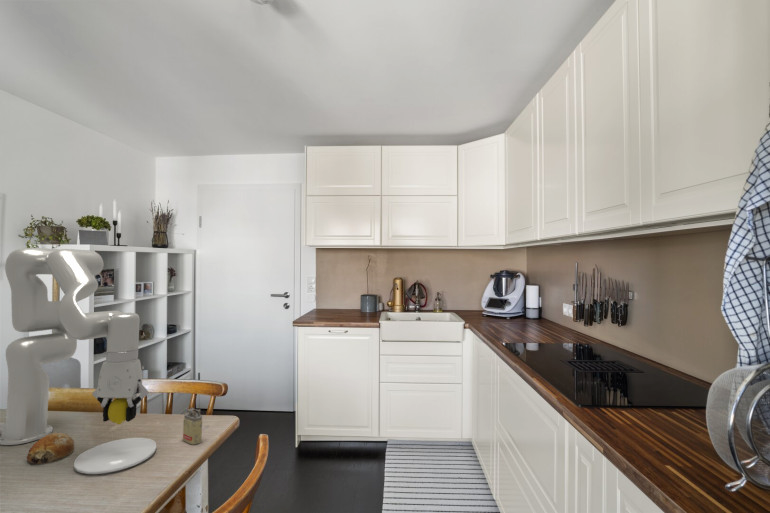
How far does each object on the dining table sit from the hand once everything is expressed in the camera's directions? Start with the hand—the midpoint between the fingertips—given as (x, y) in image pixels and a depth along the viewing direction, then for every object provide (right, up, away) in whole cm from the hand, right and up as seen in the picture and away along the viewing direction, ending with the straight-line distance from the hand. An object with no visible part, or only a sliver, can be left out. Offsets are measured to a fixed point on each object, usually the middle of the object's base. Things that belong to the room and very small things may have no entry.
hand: (119, 419), depth 106 cm
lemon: (0, -2, 0) cm, 2 cm away
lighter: (+15, -12, +11) cm, 22 cm away
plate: (0, -11, 0) cm, 11 cm away
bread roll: (-20, -11, 0) cm, 22 cm away
